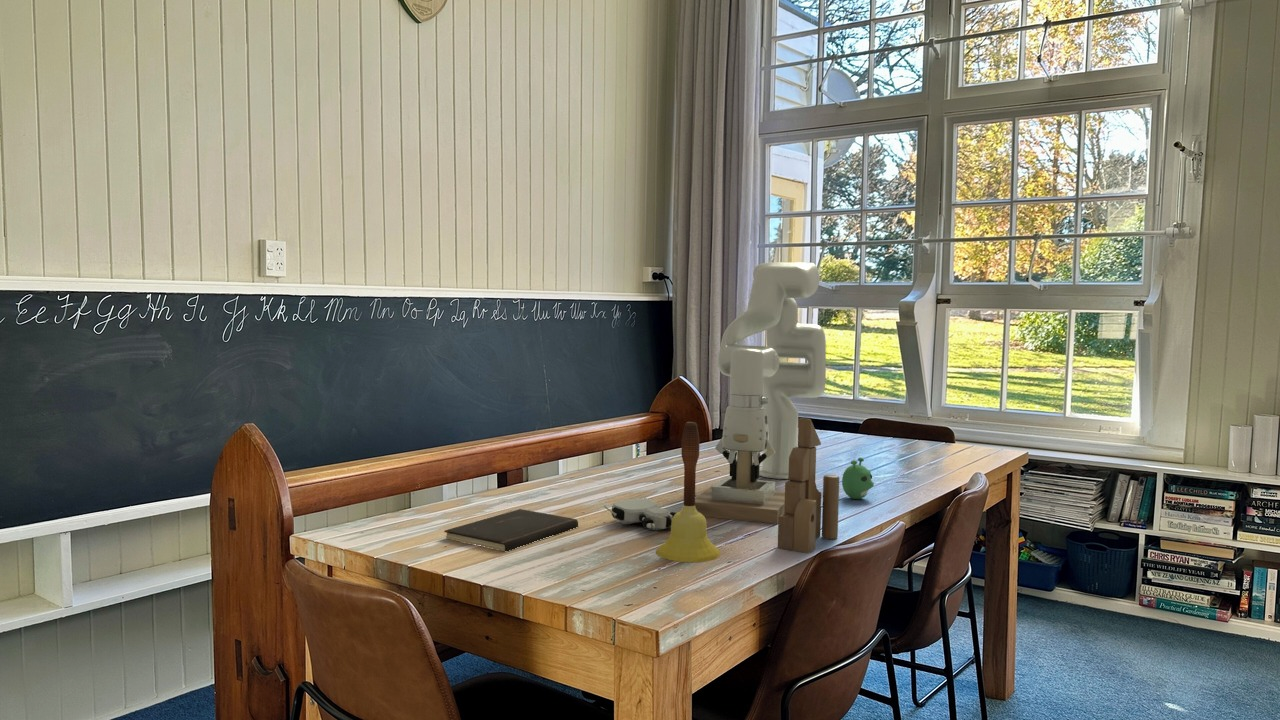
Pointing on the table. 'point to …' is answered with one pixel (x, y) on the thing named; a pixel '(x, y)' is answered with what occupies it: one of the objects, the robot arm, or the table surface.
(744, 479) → the handle
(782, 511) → the board
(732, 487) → the collar
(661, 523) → the robot toy
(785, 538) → the wooden toy
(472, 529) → the hardcover book
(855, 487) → the alien toy
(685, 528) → the handbell
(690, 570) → the table surface
